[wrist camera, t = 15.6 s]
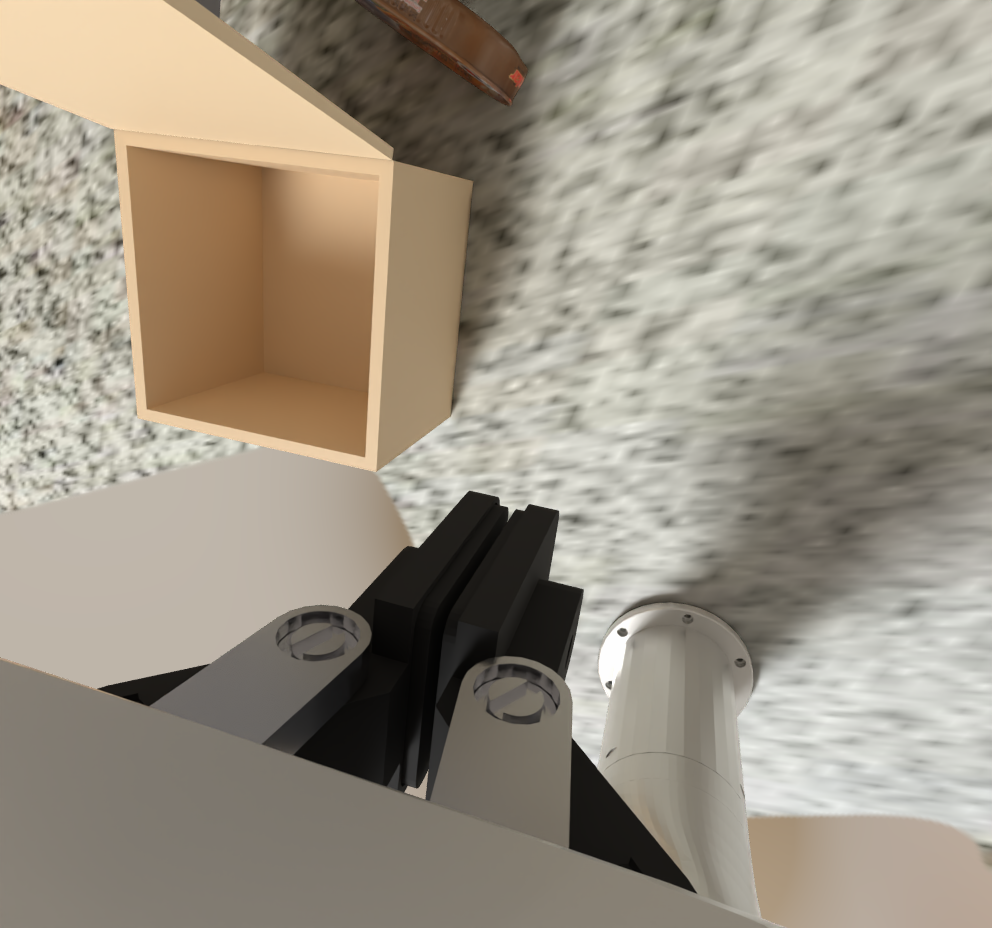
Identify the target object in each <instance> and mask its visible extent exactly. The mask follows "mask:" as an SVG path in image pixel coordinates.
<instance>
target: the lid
mask: <svg viewBox="0 0 992 928" xmlns="http://www.w3.org/2000/svg"><path fill="white" fill-rule="evenodd" d="M219 15H220V0H0V84H1V85H4V86H6V87H9V88H11V89H14V90H16V91H19V92H21V93H24V94H26V95H29V96H31V97H34V98H36V99H39V100H41V101H44V102H46V103H49V104H51V105H54V106H56V107H58V108H61V109H63V110H66V111H68V112H71V113H73V114H76V115H78V116H81V117H83V118H86V119H88V120H91V121H93V122H96V123H98V124H101V125H103V126H106V127H108V128H111V129H119V130H128V131H137V132H145V133H154V134H163V135H172V136H181V137H190V138H199V139H207V140H216V141H225V142H234V143H243V144H252V145H261V146H270V147H278V148H287V149H296V150H305V151H314V152H323V153H332V154H340V155H349V156H358V157H367V158H376V159H385V160H392V158H393V150H394V148H393V147H391V146H390V145H389V144H387V143H386V142H385V141H383V140H382V139H381V138H379V137H378V136H377V135H375V134H374V133H372V132H371V131H370V130H368V129H367V128H366V127H364V126H363V125H362V124H360V123H359V122H358V121H356V120H355V119H354V118H352V117H351V116H350V115H348V114H347V113H346V112H344V111H343V110H342V109H340V108H339V107H338V106H336V105H335V104H334V103H332V102H331V101H330V100H328V99H327V98H326V97H324V96H323V95H322V94H320V93H319V92H317V91H316V90H315V89H313V88H312V87H311V86H309V85H308V84H307V83H305V82H304V81H303V80H301V79H300V78H299V77H297V76H296V75H295V74H293V73H292V72H291V71H289V70H288V69H287V68H285V67H284V66H283V65H281V64H280V63H279V62H277V61H276V60H275V59H273V58H272V57H271V56H269V55H268V54H267V53H265V52H264V51H262V50H261V49H260V48H258V47H257V46H256V45H254V44H253V43H252V42H250V41H249V40H248V39H246V38H245V37H244V36H242V35H241V34H240V33H238V32H237V31H236V30H234V29H233V28H232V27H230V26H229V25H228V24H226V23H225V22H224V21H222V20H221V19H220V18H219Z"/></svg>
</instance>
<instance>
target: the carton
mask: <svg viewBox="0 0 992 928" xmlns="http://www.w3.org/2000/svg"><path fill="white" fill-rule="evenodd" d="M114 137H115V149H116V161H117V173H118V186H119V198H120V210H121V222H122V234H123V246H124V258H125V270H126V282H127V294H128V307H129V319H130V331H131V343H132V355H133V367H134V379H135V391H136V403H137V415H138V418H139V419H144V420H148V421H152V422H157V423H161V424H166V425H170V426H175V427H179V428H184V429H188V430H192V431H197V432H201V433H206V434H210V435H215V436H219V437H223V438H228V439H232V440H237V441H241V442H246V443H250V444H255V445H259V446H263V447H268V448H273V449H277V450H281V451H286V452H290V453H295V454H299V455H304V456H308V457H312V458H317V459H321V460H326V461H330V462H335V463H339V464H343V465H348V466H352V467H357V468H361V469H366V470H370V471H374V472H377V471H378V470H379V469H381V468H382V467H384V466H385V465H386V464H388V463H389V462H390V461H392V460H393V459H394V458H396V457H397V456H398V455H400V454H401V453H402V452H404V451H405V450H406V449H408V448H409V447H410V446H412V445H413V444H414V443H416V442H417V441H418V440H420V439H421V438H422V437H424V436H425V435H426V434H428V433H429V432H430V431H432V430H433V429H434V428H436V427H437V426H438V425H440V424H441V423H442V422H444V421H445V420H446V419H448V418H449V417H450V416H451V406H452V395H453V385H454V375H455V364H456V354H457V344H458V334H459V323H460V313H461V303H462V292H463V282H464V272H465V261H466V251H467V241H468V230H469V220H470V210H471V200H472V189H473V181H471V180H467V179H463V178H459V177H455V176H451V175H447V174H443V173H439V172H436V171H432V170H428V169H424V168H420V167H416V166H412V165H408V164H405V163H401V162H397V161H392V160H383V159H374V158H365V157H356V156H347V155H339V154H330V153H321V152H312V151H303V150H294V149H285V148H277V147H268V146H259V145H250V144H241V143H232V142H223V141H214V140H206V139H197V138H188V137H179V136H170V135H161V134H152V133H144V132H135V131H126V130H117V129H114Z"/></svg>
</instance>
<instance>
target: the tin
mask: <svg viewBox="0 0 992 928" xmlns="http://www.w3.org/2000/svg"><path fill="white" fill-rule="evenodd" d="M356 1H357V2H358V3H359V4H360V5H362V6H363V7H364V8H365V9H367V10H368V11H369V12H371V13H372V14H374V15H375V16H376V17H378V18H379V19H380V20H382V21H383V22H385V23H386V24H388V25H389V26H390V27H392V28H393V29H394V30H396V31H397V32H398V33H400V34H401V35H403V36H404V37H406V38H407V39H408V40H410V41H411V42H413V43H414V44H416V45H417V46H418V47H420V48H421V49H423V50H424V51H426V52H427V53H428V54H430V55H431V56H433V57H434V58H436V59H437V60H438V61H440V62H441V63H443V64H444V65H446V66H447V67H448V68H450V69H451V70H453V71H454V72H455V73H457V74H458V75H460V76H461V77H462V78H464V79H465V80H467V81H468V82H470V83H471V84H473V85H474V86H475V87H477V88H478V89H480V90H481V91H483V92H485V93H486V94H488V95H489V96H491V97H492V98H494V99H496V100H497V101H499V102H501V103H502V104H505V105H507V106H511V105H512V101H513V99H514V97H515V95H516V93H517V92H518V90H519V88H520V87H521V85H522V83H523V81H524V79H525V77H526V75H527V72H528V69H527V67H526V65H525V64H524V63H523V62H522V60H521V59H520V57H519V55H518V53H517V51H516V50H515V49H514V47H513V46H512V45H511V44H510V43H509V42H508V41H507V40H506V39H505V38H504V37H503V36H502V35H500V34H499V33H498V32H497V31H496V30H495V29H494V28H493V27H492V26H490V25H489V24H488V23H487V22H485V21H484V20H483V19H482V18H480V17H479V16H478V15H476V14H475V13H474V12H473V11H471V10H470V9H469V8H467V7H466V6H465V5H463V4H462V3H461V2H459V1H458V0H356Z"/></svg>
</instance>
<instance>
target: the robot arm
mask: <svg viewBox="0 0 992 928" xmlns="http://www.w3.org/2000/svg"><path fill="white" fill-rule="evenodd" d="M558 520H559V511H558V510H553V509H549V508H544V507H540V506H535V505H531V504H529V505H528V506H527V508H526V510H525V511H522V510H517V509H516V510H515V511H514V513H513V514H512V516H511V517H510V519H509V521H508V507H504V506H500V500H499V498H498V497H495V496H491V495H486V494H482V493H477V492H473V491H469V492H467V494H466V495H465V496H464V497H463V498H462V499H461V500H460V502H459V503H458V504H457V505H456V506H455V507H454V508H453V510H452V511H451V512H450V513H449V514H448V515H447V516H446V517H445V519H444V520H443V521H442V522H441V523H440V524H439V525H438V527H437V528H436V529H435V530H434V531H433V532H432V533H431V535H430V536H429V537H428V538H427V539H426V540H425V541H424V543H423V544H422V545H421V546H420V547H419V548H415V547H411V546H407V547H406V548H404V549H403V550H402V551H401V552H400V553H399V555H398V556H397V557H396V558H395V559H394V560H393V561H392V562H391V563H390V564H389V565H388V566H387V568H386V569H385V570H384V571H383V572H382V573H381V574H380V575H379V576H378V577H377V578H376V579H375V580H374V582H373V583H372V584H371V585H370V586H369V587H368V588H367V589H366V590H365V591H364V593H363V594H362V595H361V596H360V597H359V598H358V599H357V600H356V601H355V602H354V603H353V604H352V605H351V607H350V608H349V609H345V608H341V607H338V606H328V605H315V606H306V607H302V608H298V609H295V610H291V611H289V612H287V613H285V614H283V615H281V616H279V617H277V618H276V619H275V620H273V621H272V622H270V623H269V624H267V625H266V626H264V627H263V628H261V629H260V630H259V631H257V632H256V633H254V634H253V635H251V636H250V637H249V638H247V639H246V640H244V641H243V642H241V643H240V644H238V645H237V646H236V647H234V648H233V649H231V650H230V651H228V652H227V653H225V654H224V655H223V656H221V657H220V658H218V659H217V660H215V661H214V662H212V663H211V664H207V665H203V666H198V667H193V668H189V669H184V670H179V671H174V672H170V673H165V674H160V675H156V676H151V677H146V678H141V679H137V680H132V681H127V682H122V683H118V684H113V685H108V686H105V687H102V688H98V689H95V688H92V687H89V686H85V685H82V684H79V683H76V682H73V681H70V680H67V679H64V678H61V677H58V676H55V675H52V674H49V673H46V672H43V671H40V670H37V669H34V668H31V667H28V666H25V665H21V664H19V663H16V662H13V661H10V660H7V659H3V658H1V657H0V928H786V927H784V926H781V925H778V924H776V923H773V922H770V921H768V920H765V919H762V918H761V913H760V909H759V904H758V900H757V894H756V889H755V882H754V876H753V867H752V860H751V852H750V844H749V834H748V824H747V816H746V805H745V795H744V784H743V774H742V764H741V753H740V743H739V733H738V722H737V717H738V716H739V714H740V713H741V712H742V711H743V709H744V708H745V707H746V705H747V703H748V701H749V698H750V696H751V693H752V688H753V668H752V663H751V658H750V655H749V653H748V651H747V648H746V646H745V644H744V643H743V641H742V640H741V638H740V637H739V635H738V634H737V633H736V632H735V631H734V630H733V629H732V628H731V627H730V626H729V625H728V624H727V623H726V622H724V621H723V620H721V619H720V618H718V617H717V616H715V615H714V614H712V613H709V612H707V611H705V610H703V609H701V608H697V607H694V606H691V605H687V604H680V603H672V602H668V603H654V604H649V605H644V606H641V607H638V608H636V609H634V610H631V611H629V612H627V613H626V614H624V615H623V616H621V617H620V618H618V620H617V621H616V622H615V623H614V624H613V625H612V626H611V627H610V628H609V629H608V631H607V633H606V634H605V636H604V638H603V641H602V644H601V647H600V651H599V656H598V673H599V677H600V682H601V684H602V687H603V689H604V691H605V693H606V695H607V696H608V698H609V705H608V711H607V716H606V722H605V728H604V733H603V739H602V745H601V751H600V756H599V762H598V768H596V766H595V765H594V764H593V763H592V762H591V760H590V759H589V758H588V757H587V756H586V754H585V753H584V752H583V751H582V749H581V748H580V747H579V746H578V745H577V743H576V742H575V741H574V740H573V738H572V703H573V702H572V697H571V692H570V689H569V688H568V686H567V685H566V683H565V678H566V674H567V670H568V666H569V662H570V658H571V654H572V649H573V645H574V640H575V635H576V630H577V625H578V620H579V615H580V610H581V605H582V599H583V592H584V589H580V588H576V587H572V586H568V585H564V584H560V583H556V582H552V581H548V579H549V573H550V567H551V562H552V556H553V550H554V544H555V538H556V532H557V526H558ZM507 521H508V522H507ZM686 614H689V616H687V615H686ZM623 628H625V629H623ZM739 658H741V659H739ZM428 769H429V772H428V782H427V791H426V800H425V799H422V798H419V797H416V796H413V795H410V794H407V793H404V792H405V790H406V788H407V786H411V787H414V788H419V786H420V785H421V783H422V781H423V779H424V777H425V775H426V773H427V771H428Z"/></svg>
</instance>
